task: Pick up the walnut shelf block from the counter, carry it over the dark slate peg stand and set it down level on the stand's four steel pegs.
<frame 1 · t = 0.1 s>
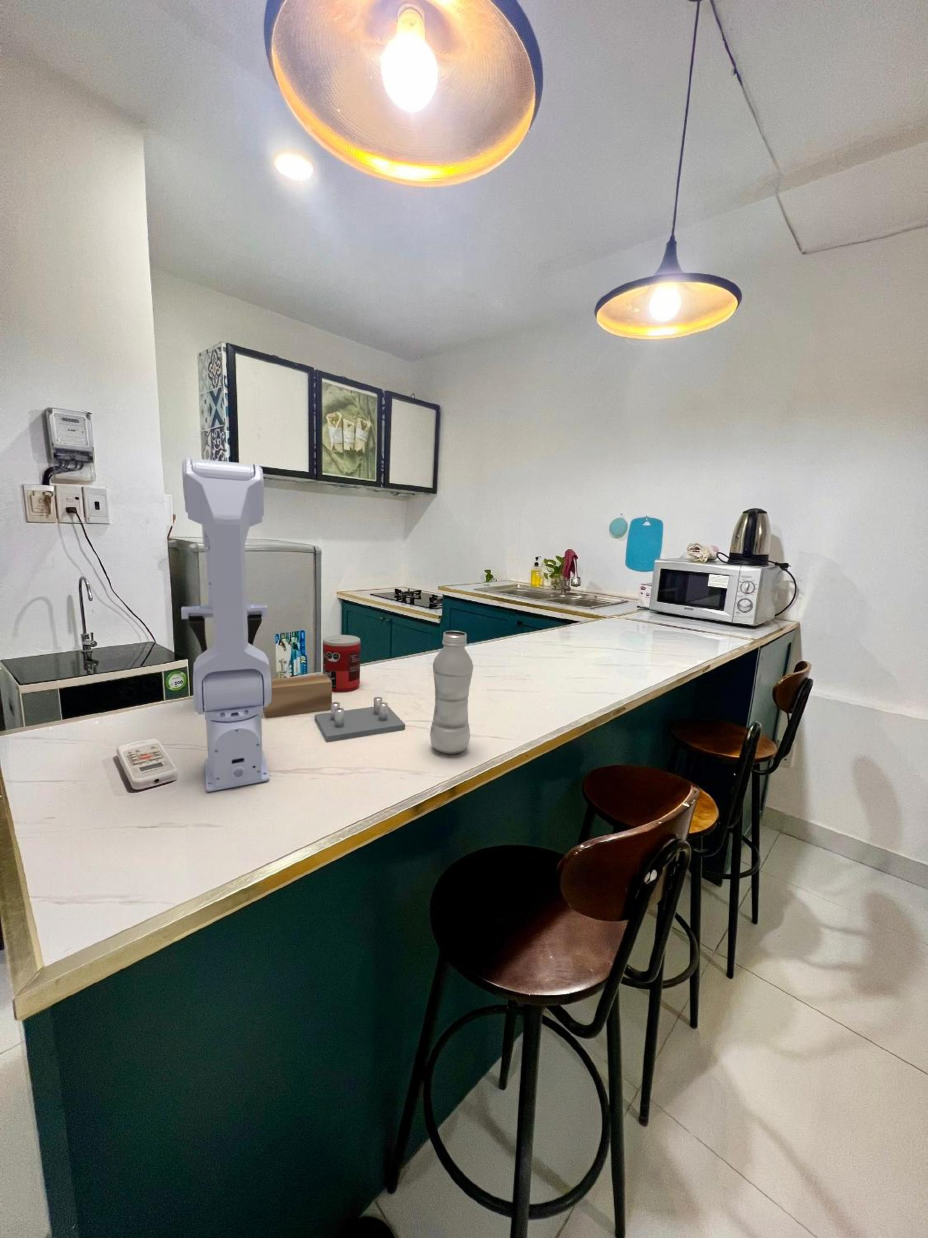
hand: (227, 653, 94), 10 cm above the table, tool pointing down, fingers open, 7 cm apart
canned food: (341, 687, 108), on the table
shelf block: (297, 710, 95), on the table
plastic bottle: (449, 750, 82), on the table
peg stand: (359, 724, 89), on the table
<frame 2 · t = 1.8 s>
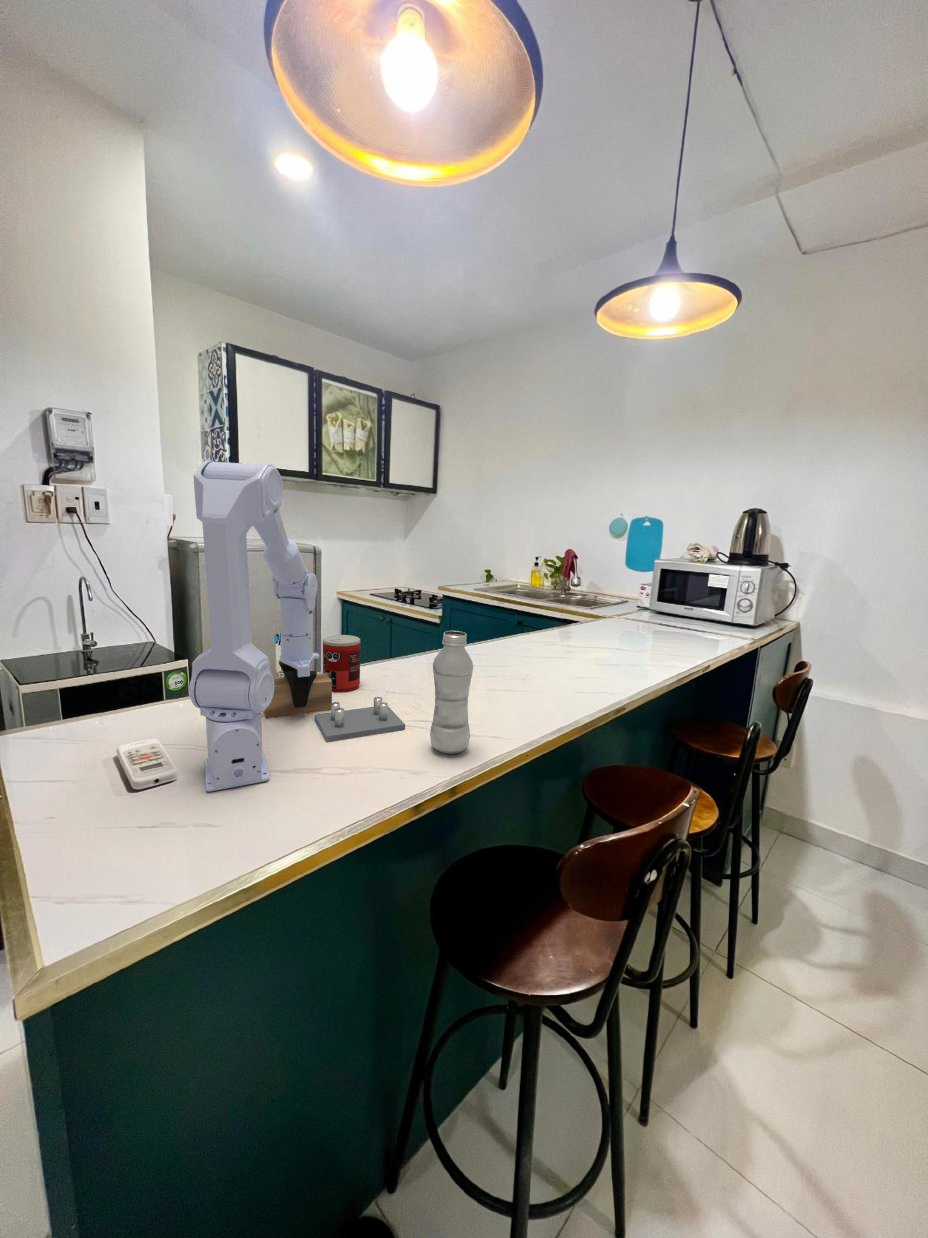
hand: (297, 701, 94), 2 cm above the table, tool pointing down, fingers open, 5 cm apart
nothing on the table moved.
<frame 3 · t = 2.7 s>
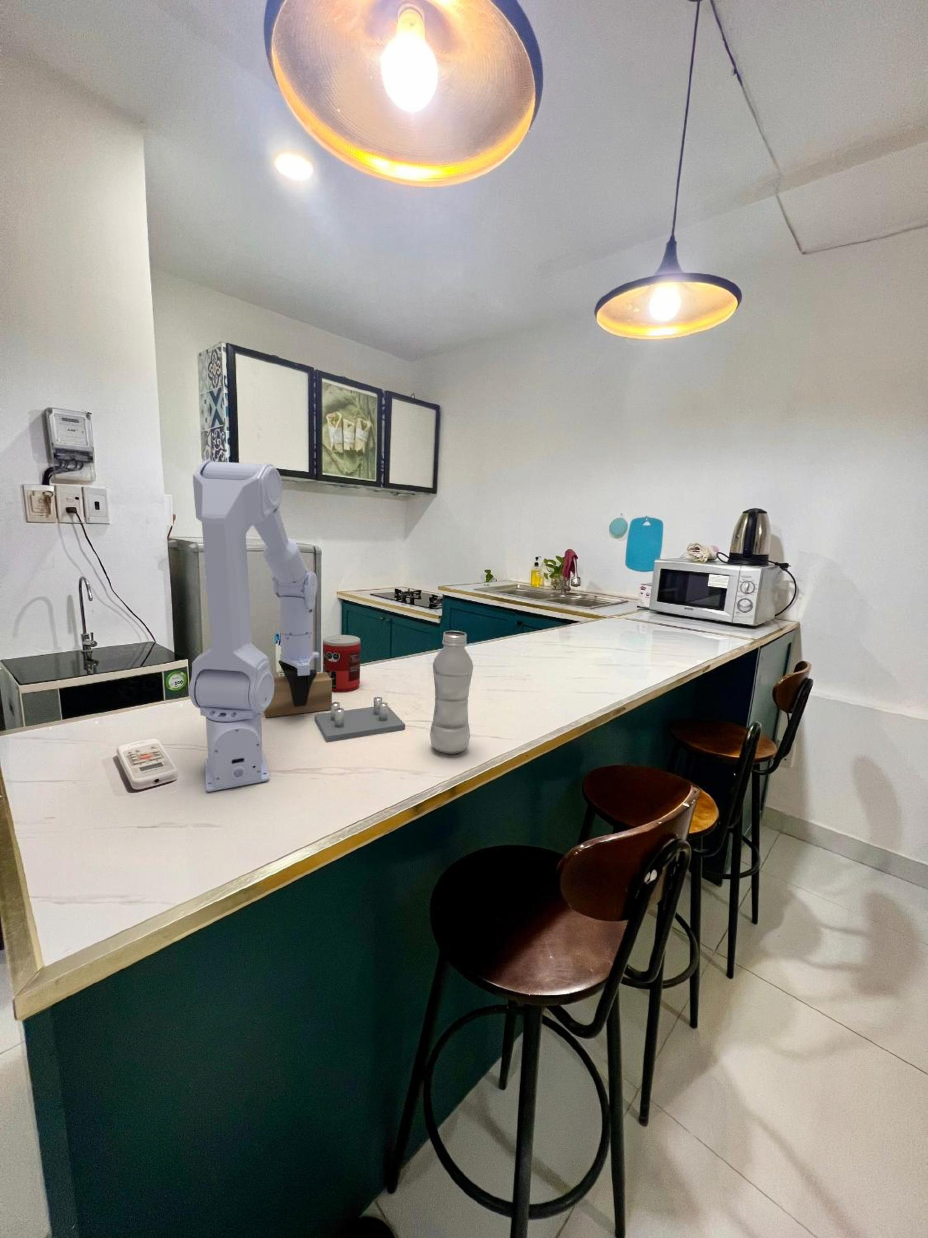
hand: (297, 700, 94), 2 cm above the table, tool pointing down, fingers closed on shelf block, 5 cm apart
shelf block: (297, 708, 95), on the table, touching gripper
everything else where it was.
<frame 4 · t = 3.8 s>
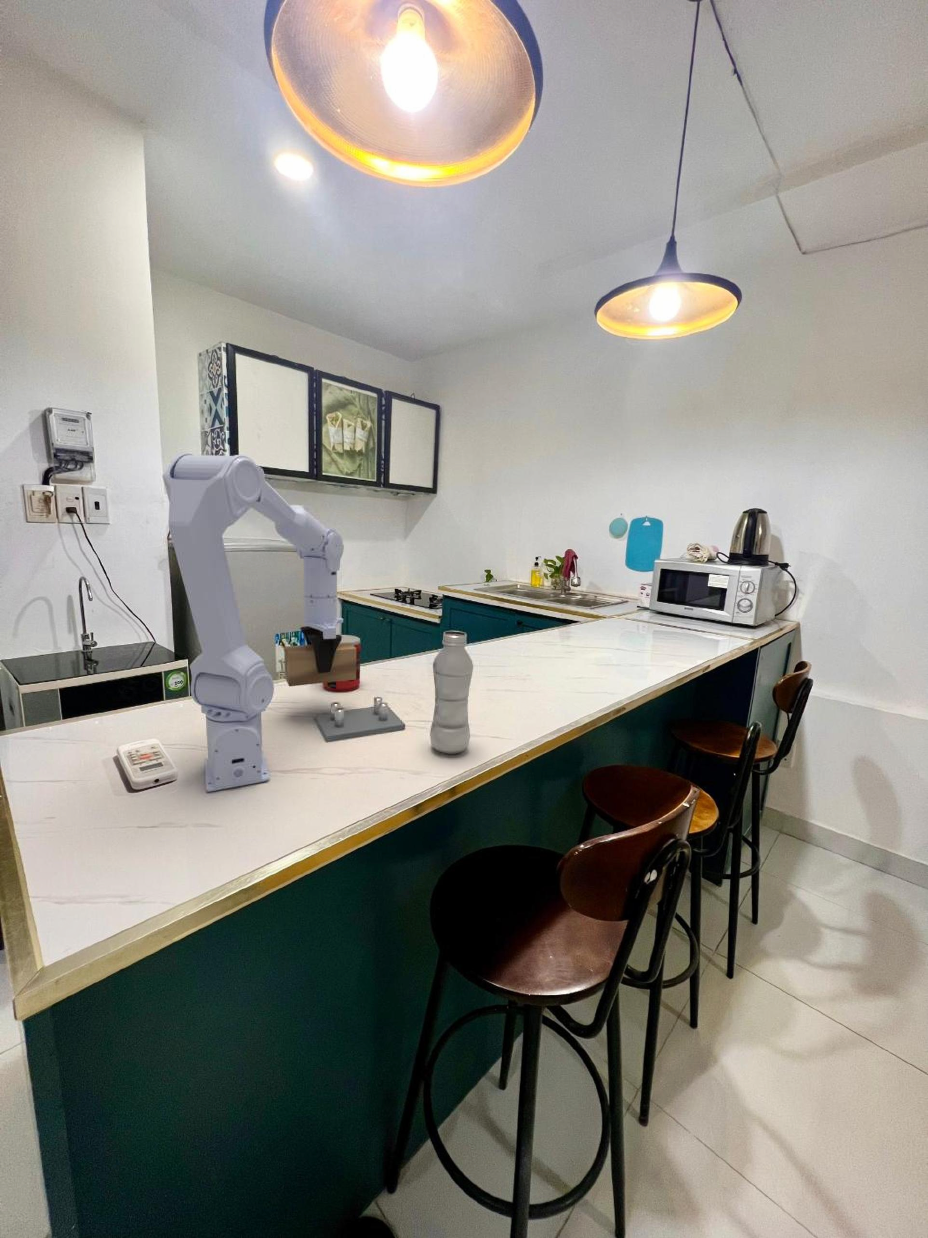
hand: (320, 667, 91), 9 cm above the table, tool pointing down, fingers closed on shelf block, 5 cm apart
shelf block: (320, 678, 91), point 7 cm above the table, touching gripper
everything else where it was.
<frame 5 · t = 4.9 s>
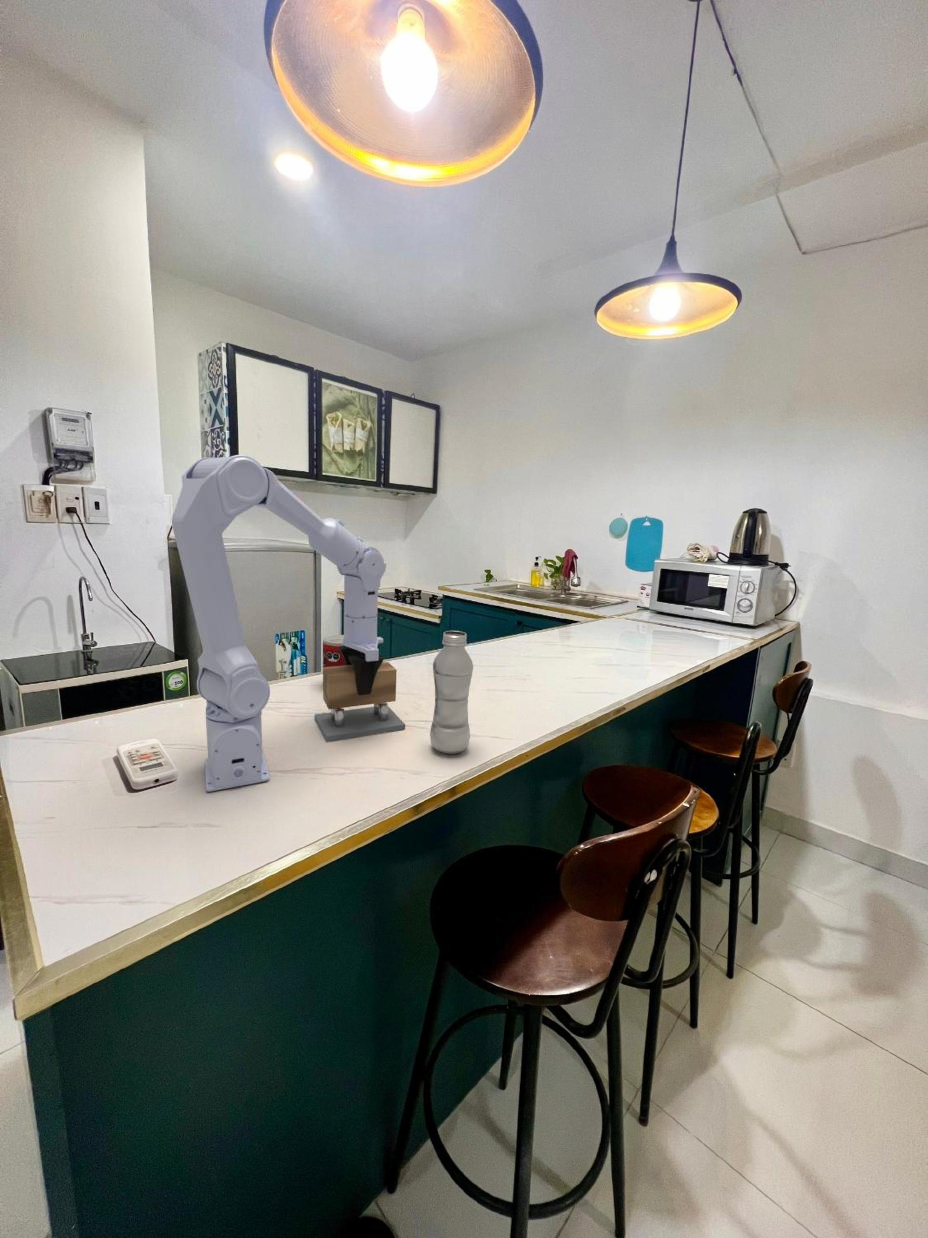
hand: (359, 688, 88), 7 cm above the table, tool pointing down, fingers closed on shelf block, 5 cm apart
shelf block: (359, 700, 89), point 5 cm above the table, touching gripper
everything else where it was.
when the fingers open (7 cm above the table, at t = 5.5 s): shelf block stays where it is, resting on peg stand.
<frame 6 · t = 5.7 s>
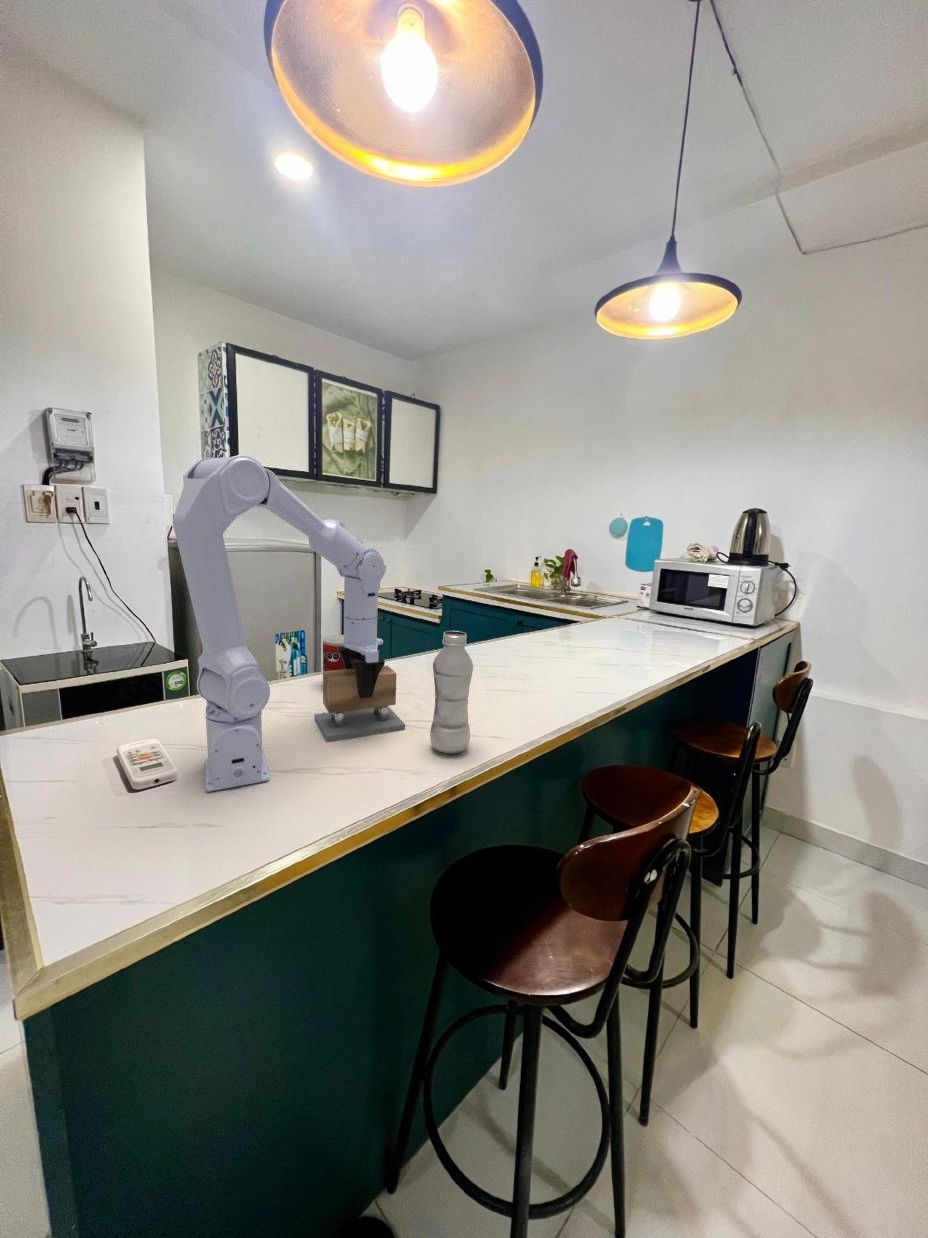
hand: (359, 690, 88), 7 cm above the table, tool pointing down, fingers open, 7 cm apart
shelf block: (359, 704, 89), point 4 cm above the table, touching peg stand
everything else where it was.
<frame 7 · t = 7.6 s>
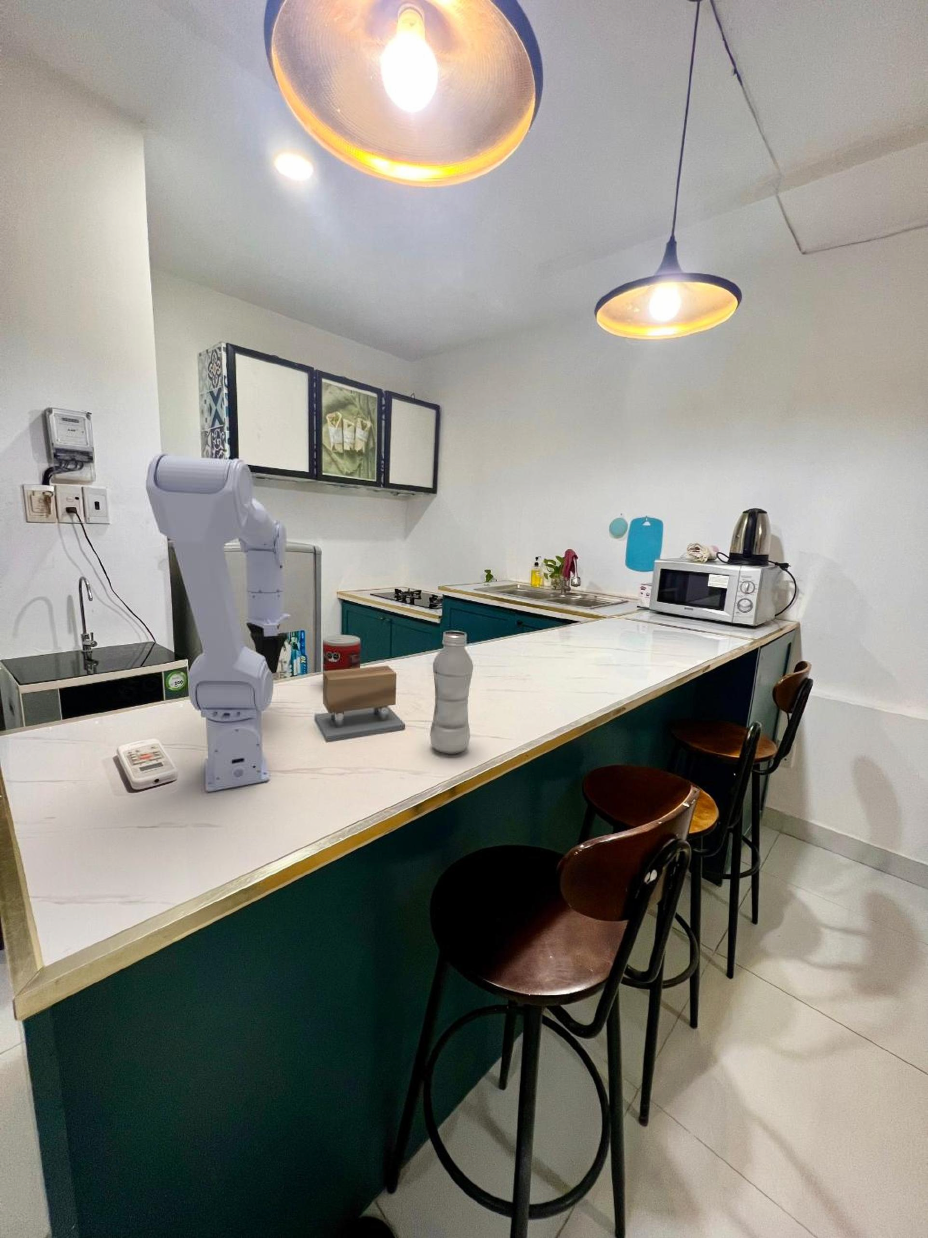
hand: (267, 666, 86), 10 cm above the table, tool pointing down, fingers open, 7 cm apart
nothing on the table moved.
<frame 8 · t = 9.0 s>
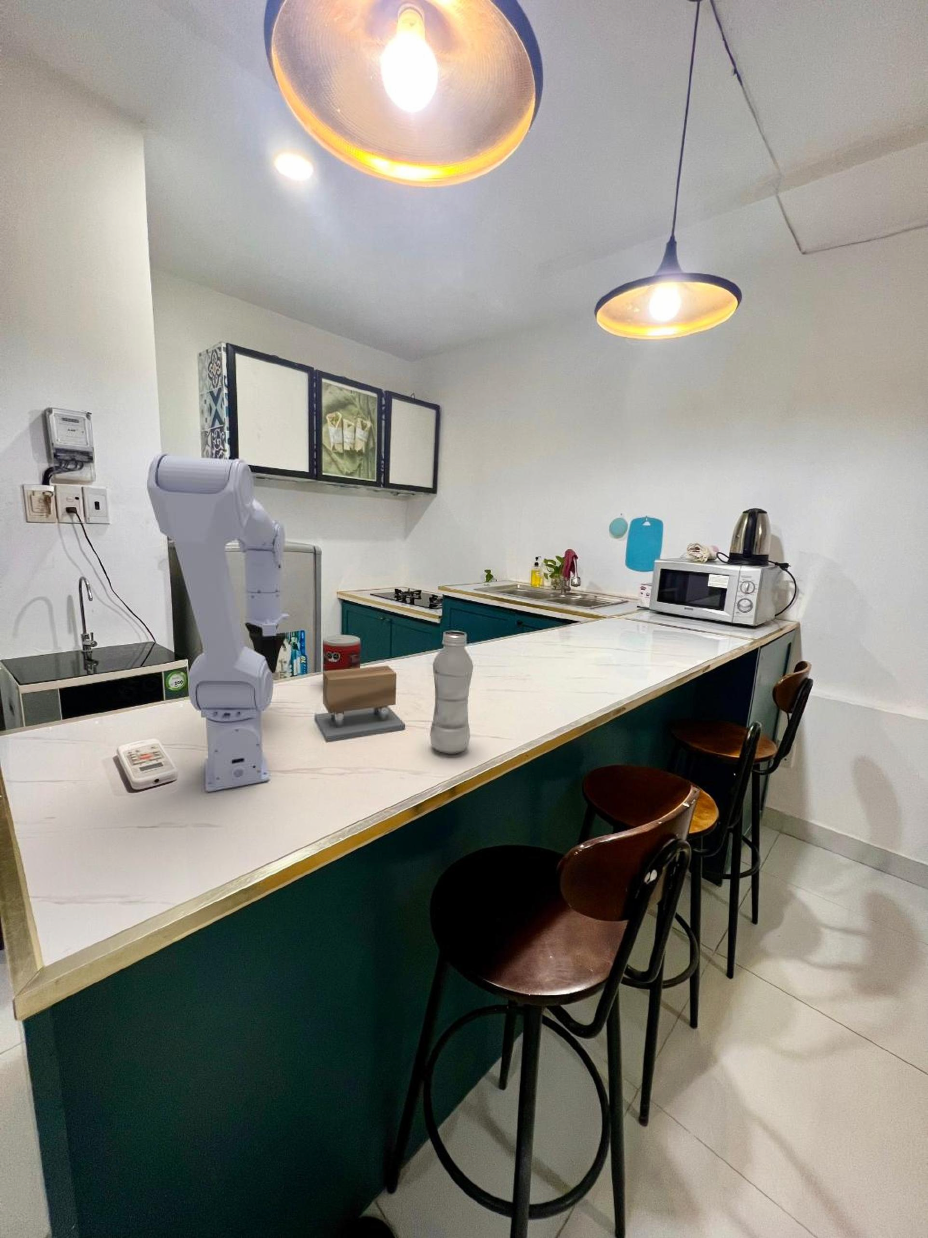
hand: (265, 666, 86), 10 cm above the table, tool pointing down, fingers open, 7 cm apart
nothing on the table moved.
at the end: shelf block 0.1 cm off-centre on the peg stand, point 4.0 cm above the peg stand's base; shelf block tilted 0°; the gripper is holding nothing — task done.
